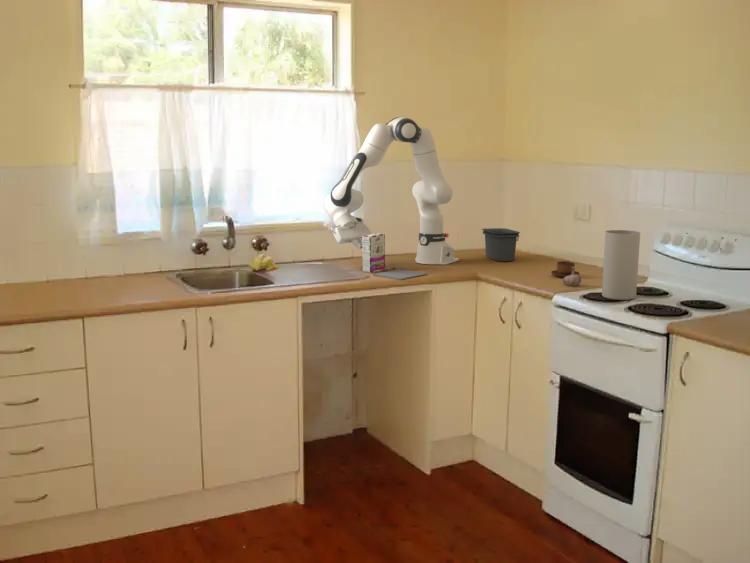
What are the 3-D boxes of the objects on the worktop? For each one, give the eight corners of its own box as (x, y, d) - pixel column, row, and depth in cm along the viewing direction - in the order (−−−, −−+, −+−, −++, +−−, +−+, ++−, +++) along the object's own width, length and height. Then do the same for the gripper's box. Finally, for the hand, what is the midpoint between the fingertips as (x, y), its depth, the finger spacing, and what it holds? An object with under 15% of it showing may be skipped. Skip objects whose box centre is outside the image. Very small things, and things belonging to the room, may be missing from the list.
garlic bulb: (579, 288, 328) (580, 268, 327) (561, 286, 331) (562, 267, 329) (582, 284, 335) (583, 265, 334) (563, 283, 338) (564, 264, 336)
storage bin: (478, 256, 408) (479, 228, 406) (507, 255, 412) (508, 227, 410) (495, 263, 388) (496, 233, 386) (525, 261, 392) (526, 232, 389)
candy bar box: (376, 268, 371) (376, 232, 368) (385, 269, 368) (385, 233, 365) (361, 271, 362) (361, 235, 359) (370, 272, 359) (370, 236, 356)
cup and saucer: (552, 273, 361) (552, 260, 360) (579, 275, 358) (580, 261, 356) (549, 278, 350) (550, 264, 349) (578, 279, 346) (579, 265, 345)
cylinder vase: (642, 299, 306) (647, 233, 301) (613, 301, 302) (617, 234, 297) (623, 293, 317) (627, 229, 313) (595, 295, 314) (599, 230, 309)
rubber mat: (400, 270, 366) (400, 268, 366) (427, 274, 356) (427, 273, 355) (372, 275, 353) (372, 273, 353) (400, 280, 343) (400, 278, 342)
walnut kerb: (394, 270, 366) (394, 267, 366) (396, 270, 365) (396, 267, 365) (372, 274, 356) (372, 270, 356) (374, 274, 355) (374, 271, 355)
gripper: (333, 221, 364) (348, 245, 359) (364, 218, 378) (380, 241, 374) (326, 230, 368) (341, 254, 363) (357, 227, 382) (372, 249, 378)
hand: (361, 247), depth 368 cm, fingers closed
